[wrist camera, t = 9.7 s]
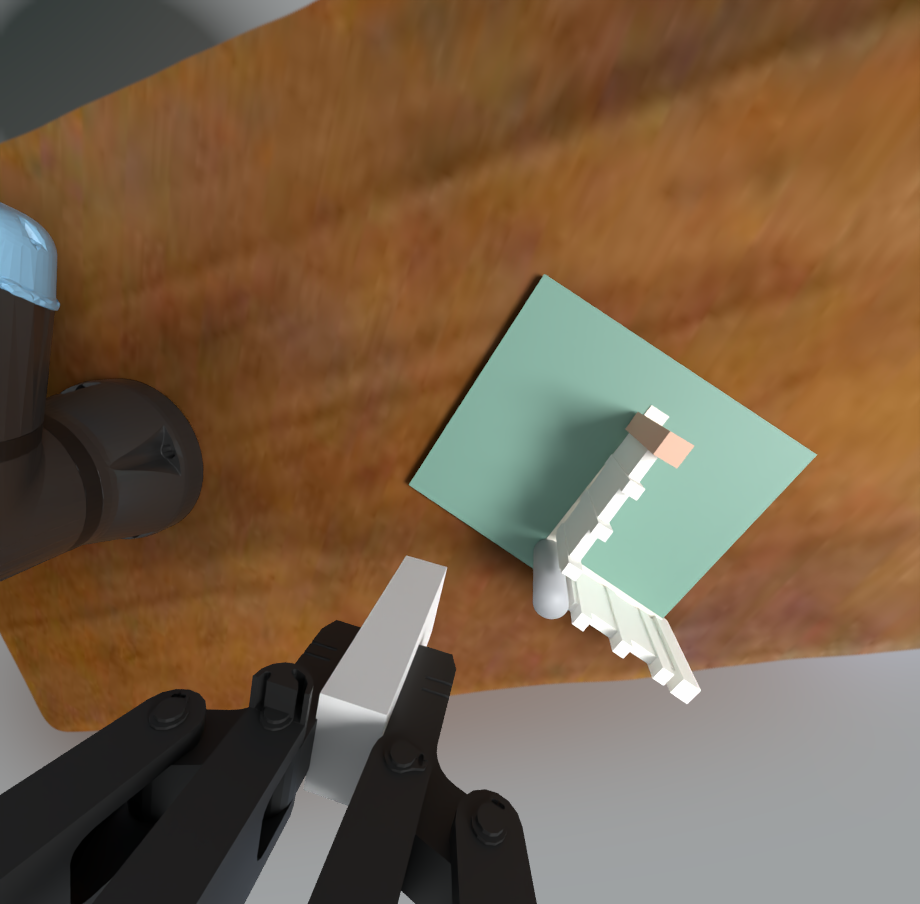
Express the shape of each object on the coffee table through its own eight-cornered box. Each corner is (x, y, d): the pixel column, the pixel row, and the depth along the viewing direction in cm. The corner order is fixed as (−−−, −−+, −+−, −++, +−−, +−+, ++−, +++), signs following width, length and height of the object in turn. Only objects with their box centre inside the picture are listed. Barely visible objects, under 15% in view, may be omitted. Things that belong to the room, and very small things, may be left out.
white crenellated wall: (637, 411, 34) (670, 431, 26) (656, 422, 34) (694, 445, 26) (551, 532, 37) (556, 584, 29) (568, 542, 37) (577, 597, 29)
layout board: (410, 482, 39) (408, 485, 38) (544, 275, 34) (544, 273, 33) (639, 637, 39) (641, 642, 38) (812, 453, 33) (817, 455, 33)
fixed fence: (528, 551, 39) (526, 605, 31) (544, 530, 38) (546, 580, 30) (652, 635, 39) (683, 712, 30) (670, 615, 38) (707, 689, 30)
